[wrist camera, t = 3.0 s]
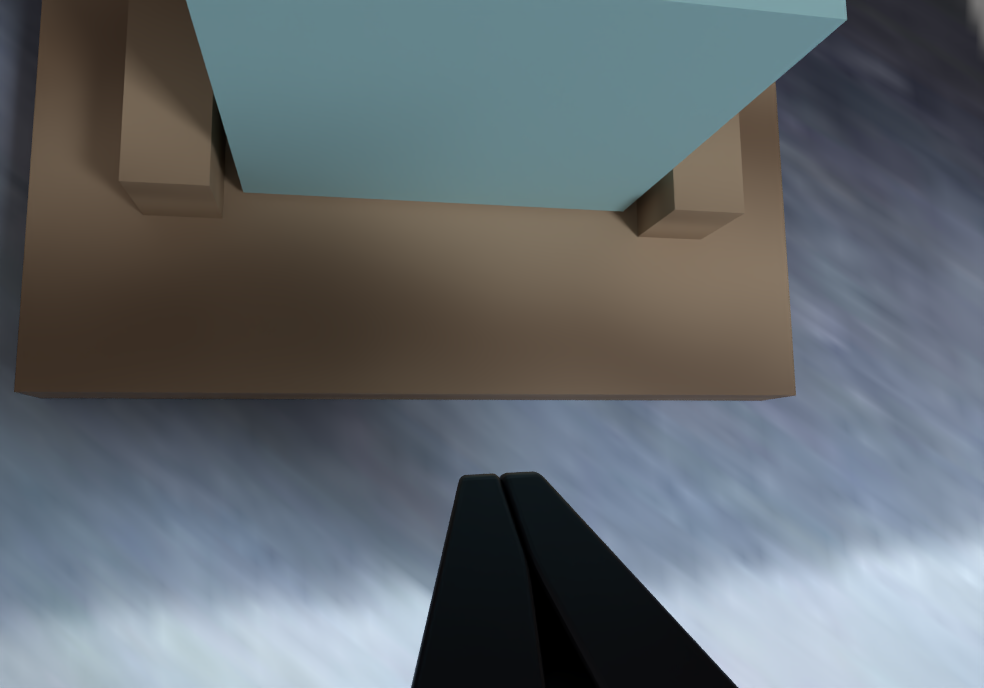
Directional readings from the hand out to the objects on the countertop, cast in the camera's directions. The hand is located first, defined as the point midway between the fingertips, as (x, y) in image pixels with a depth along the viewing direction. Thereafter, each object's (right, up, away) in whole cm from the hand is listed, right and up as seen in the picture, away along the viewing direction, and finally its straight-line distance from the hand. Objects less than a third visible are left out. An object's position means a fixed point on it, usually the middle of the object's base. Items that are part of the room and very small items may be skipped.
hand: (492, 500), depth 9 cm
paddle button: (-1, +6, +9) cm, 11 cm away
